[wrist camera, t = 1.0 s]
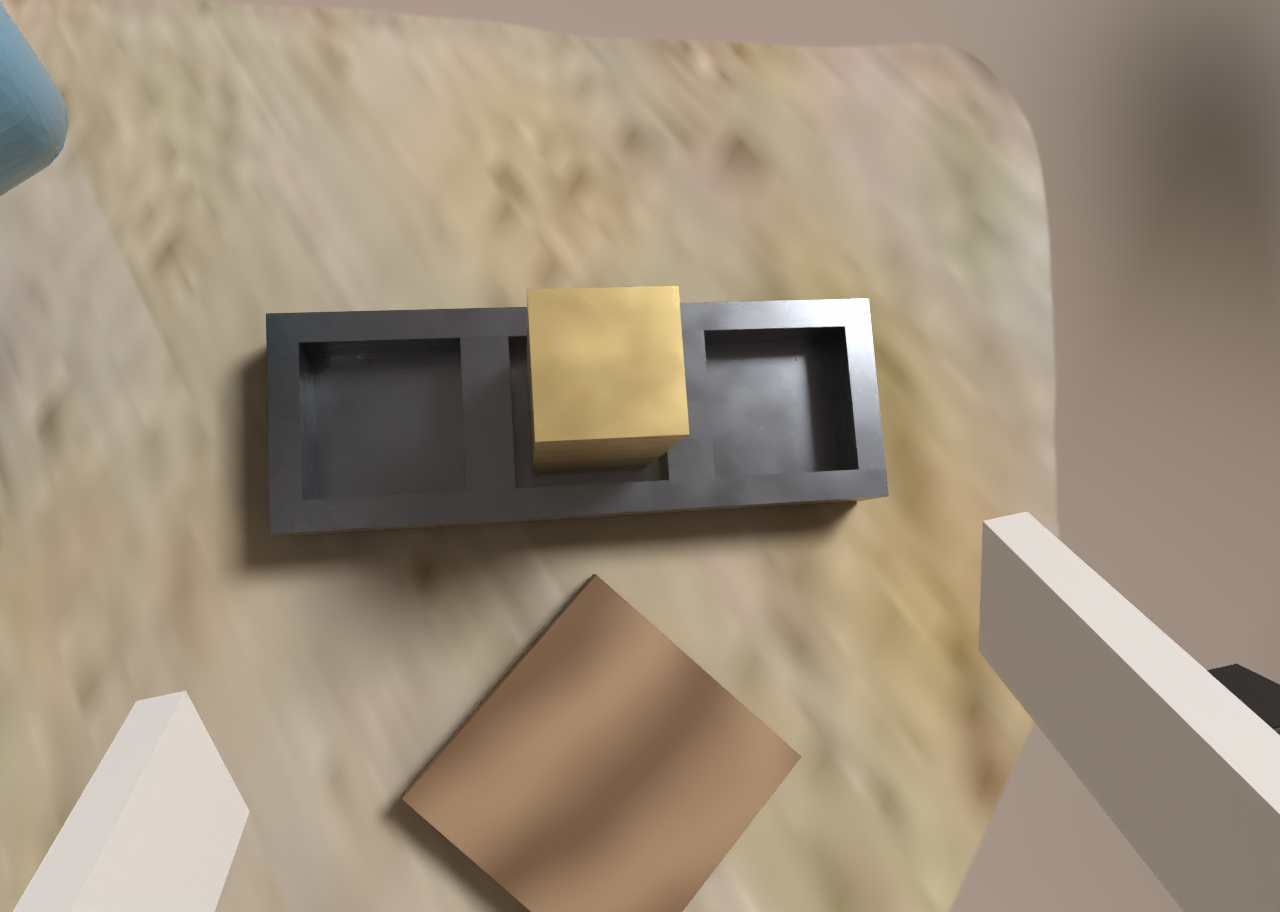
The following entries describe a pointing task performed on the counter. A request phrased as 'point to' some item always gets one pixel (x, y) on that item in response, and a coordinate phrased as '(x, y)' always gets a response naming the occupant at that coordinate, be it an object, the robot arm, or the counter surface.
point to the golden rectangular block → (604, 378)
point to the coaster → (602, 768)
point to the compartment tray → (500, 425)
